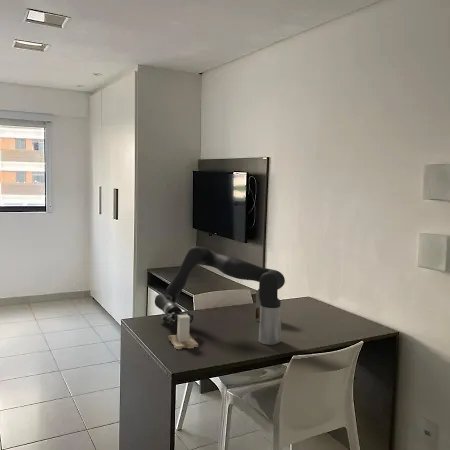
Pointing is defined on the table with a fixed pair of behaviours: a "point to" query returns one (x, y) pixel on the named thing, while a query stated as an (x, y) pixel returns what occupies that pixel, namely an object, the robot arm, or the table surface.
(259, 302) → the coffee box
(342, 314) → the table surface
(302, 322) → the table surface
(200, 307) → the table surface
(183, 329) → the block
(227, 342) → the table surface
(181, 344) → the pin dock
